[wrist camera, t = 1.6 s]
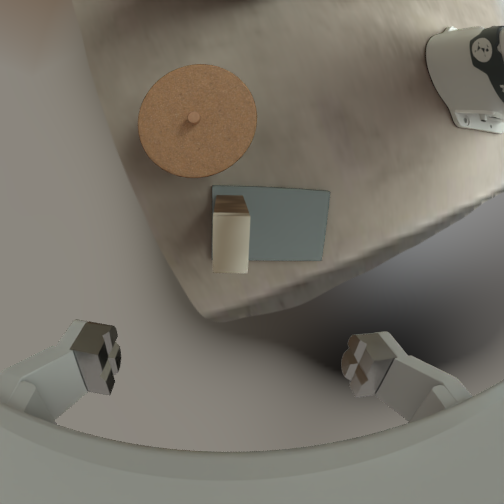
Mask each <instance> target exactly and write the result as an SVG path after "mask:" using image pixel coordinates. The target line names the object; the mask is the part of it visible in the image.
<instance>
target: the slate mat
mask: <svg viewBox="0 0 504 504" xmlns="http://www.w3.org/2000/svg"><path fill="white" fill-rule="evenodd" d="M217 195H243V197H244V200H245V203H246V205H247V208H248V211H249V214H250V237H249V258H248V260H274V261H322V255H323V248H324V241H325V233H326V225H327V217H328V209H329V200H330V191H324V190H311V189H296V188H279V187H258V186H223V185H213V186H212V260H213V213H214V207H215V201H216V196H217Z"/></svg>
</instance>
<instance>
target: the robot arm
mask: <svg viewBox="0 0 504 504" xmlns="http://www.w3.org/2000/svg"><path fill="white" fill-rule="evenodd" d="M426 60H427V66H428V70H429V73H430V76H431V79H432V81H433V84H434V86H435V88H436V90H437V91H438V93H439V95H440V96H441V98H442V99H443V101H444V102H445V103H446V105H447V106H448V108H449V110H450V113H451V115H452V118H453V121H454V123H455V125H456V126H457V127H460V128H467V129H474V130H480V131H486V132H491V133H497V134H503V132H504V26H492V27H490V28H486V29H485V28H484V27H481V26H478V27H470V28H463V29H456V28H455V27H447V28H446V29H445V31H444V33H441V34H436V35H434V36H432V37H431V38H430V40H429V42H428V44H427V48H426ZM117 337H118V336H117V330H116V328H115V327H114V326H112V325H106V324H100V323H94V322H88V321H83V320H77V319H76V320H74V321H73V322H72V323H71V325H70V326H69V328H68V329H67V330H66V332H65V333H64V335H63V336H62V338H61V340H60V341H59V342H58V344H57V346H56V347H54V346H51V347H49V348H47V349H45V350H43V351H41V352H39V353H37V354H35V355H33V356H31V357H29V358H27V359H25V360H23V361H21V362H19V363H17V364H15V365H13V366H10V367H9V368H6V369H5V370H2V372H1V373H0V504H504V380H502V381H500V382H499V383H497V384H495V385H493V386H492V387H490V388H488V389H486V390H484V391H483V392H481V393H479V394H477V395H475V396H472V395H471V394H470V393H469V392H468V390H467V389H466V388H465V387H464V385H463V384H462V383H461V382H460V381H459V380H458V378H456V377H454V376H452V375H450V374H448V373H446V372H444V371H442V370H440V369H437V368H435V367H433V366H431V365H429V364H427V363H425V362H423V361H421V360H419V359H417V358H415V357H413V356H408V355H407V354H406V353H405V351H404V350H403V349H402V348H401V346H400V345H399V344H398V343H397V342H396V341H395V339H394V338H393V337H392V336H391V335H390V333H388V332H386V331H385V332H377V333H370V334H358V335H352V336H351V337H350V338H349V341H348V346H349V349H348V350H347V351H346V352H345V353H344V354H343V357H342V361H341V368H342V372H343V374H344V376H345V377H346V378H347V379H349V380H350V384H349V386H350V388H351V390H352V391H353V394H354V396H355V397H356V398H358V397H364V396H371V395H375V396H376V397H377V398H378V399H380V400H381V401H383V402H384V403H385V404H386V405H388V406H389V407H390V408H392V409H393V410H394V411H395V412H397V413H398V414H399V415H401V416H402V417H403V418H405V419H406V420H407V421H409V422H408V423H407V424H404V425H401V426H398V427H394V428H391V429H387V430H384V431H381V432H377V433H373V434H369V435H365V436H361V437H356V438H352V439H347V440H343V441H338V442H333V443H327V444H321V445H315V446H308V447H301V448H292V449H282V450H270V451H252V452H251V451H250V452H208V451H190V450H177V449H167V448H159V447H151V446H144V445H138V444H132V443H126V442H121V441H116V440H112V439H107V438H103V437H98V436H94V435H91V434H86V433H83V432H80V431H76V430H73V429H69V428H66V427H63V426H60V425H57V423H56V422H55V419H57V418H58V417H59V416H60V415H61V414H63V413H64V412H65V411H66V410H67V409H69V408H70V407H71V406H72V405H73V404H75V403H76V402H77V401H78V400H79V399H80V398H82V397H83V396H84V395H85V394H86V393H88V392H87V391H89V392H94V393H99V394H105V395H110V394H111V392H112V389H113V386H114V383H115V380H114V376H113V375H115V374H116V373H118V371H119V368H120V363H121V351H120V346H119V345H118V344H117V343H116V342H115V341H116V339H117Z"/></svg>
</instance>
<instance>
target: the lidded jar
mask: <svg viewBox="0 0 504 504" xmlns="http://www.w3.org/2000/svg"><path fill="white" fill-rule="evenodd" d="M256 124H257V112H256V106H255V102H254V99H253V97H252V95H251V92H250V91H249V89H248V88H247V86H246V85H245V84H244V83H243V82H242V81H241V80H240V79H239V78H238V77H237V76H235V75H234V74H233V73H231V72H229V71H227V70H225V69H223V68H220V67H217V66H213V65H206V64H195V65H188V66H184V67H181V68H178V69H176V70H174V71H171V72H169V73H168V74H166V75H165V76H163V77H162V78H161V79H159V80H158V81H157V82H156V83H155V84H154V85H153V86H152V88H151V89H150V90H149V91H148V93H147V95H146V96H145V98H144V100H143V102H142V105H141V107H140V111H139V116H138V133H139V137H140V141H141V144H142V146H143V148H144V150H145V152H146V153H147V155H148V156H149V158H150V159H151V160H152V161H153V162H154V163H155V164H156V165H158V166H159V167H160V168H162V169H163V170H165V171H167V172H169V173H171V174H174V175H177V176H181V177H187V178H201V177H207V176H211V175H214V174H217V173H219V172H222V171H224V170H226V169H227V168H229V167H230V166H232V165H233V164H234V163H235V162H237V161H238V160H239V159H240V158H241V157H242V155H243V154H244V153H245V152H246V150H247V149H248V147H249V146H250V144H251V142H252V139H253V137H254V134H255V130H256Z"/></svg>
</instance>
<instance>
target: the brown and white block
mask: <svg viewBox="0 0 504 504" xmlns="http://www.w3.org/2000/svg"><path fill="white" fill-rule="evenodd" d="M249 237H250V214H249V211H248V208H247V205H246V203H245V200H244V197H243V195H217V196H216V201H215V207H214V213H213V273H248V258H249Z"/></svg>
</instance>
